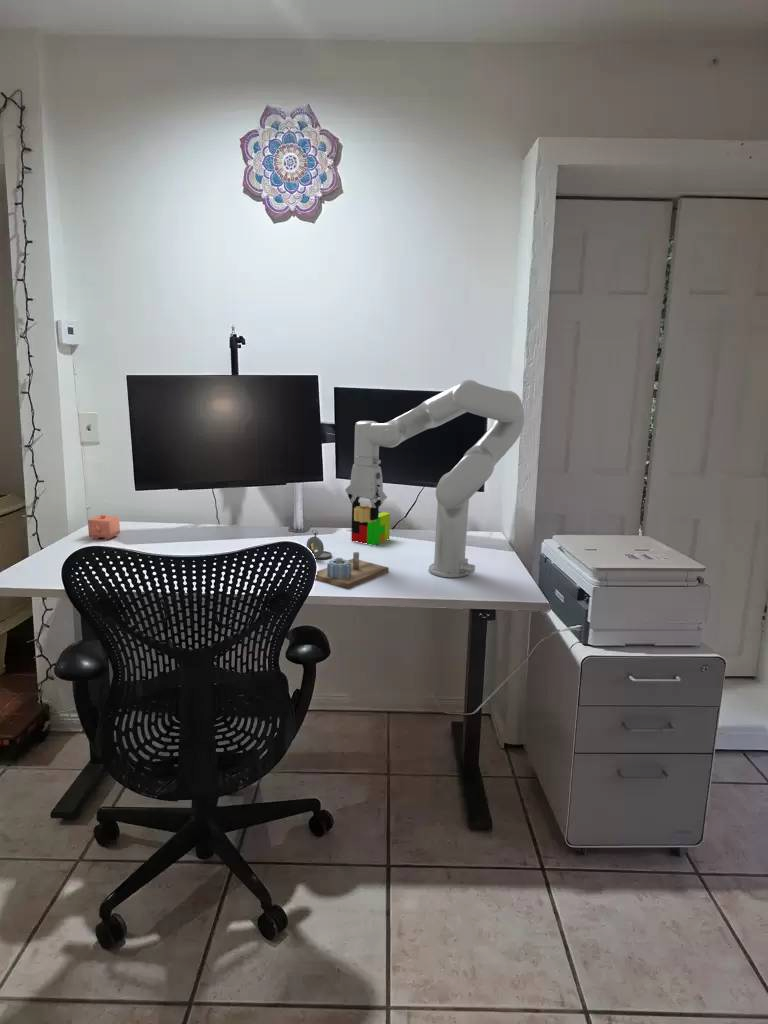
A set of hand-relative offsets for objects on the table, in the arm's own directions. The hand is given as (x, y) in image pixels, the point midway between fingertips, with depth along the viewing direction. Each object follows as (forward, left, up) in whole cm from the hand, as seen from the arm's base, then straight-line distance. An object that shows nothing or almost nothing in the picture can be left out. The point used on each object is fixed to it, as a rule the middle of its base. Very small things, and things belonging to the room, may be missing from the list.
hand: (364, 516), depth 206 cm
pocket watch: (+16, +4, -16) cm, 23 cm away
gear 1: (-3, +16, -14) cm, 22 cm away
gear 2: (0, 0, -1) cm, 1 cm away
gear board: (-3, +11, -16) cm, 19 cm away
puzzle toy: (+16, -24, -16) cm, 33 cm away
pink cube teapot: (+87, +37, -16) cm, 95 cm away
